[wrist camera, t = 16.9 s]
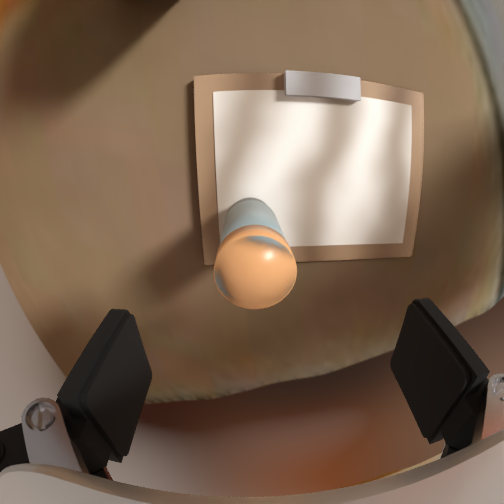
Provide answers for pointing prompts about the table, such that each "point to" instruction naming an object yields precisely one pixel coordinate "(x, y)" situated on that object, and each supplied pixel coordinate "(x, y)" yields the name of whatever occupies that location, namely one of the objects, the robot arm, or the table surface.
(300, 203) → the clipboard
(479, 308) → the table surface
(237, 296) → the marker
